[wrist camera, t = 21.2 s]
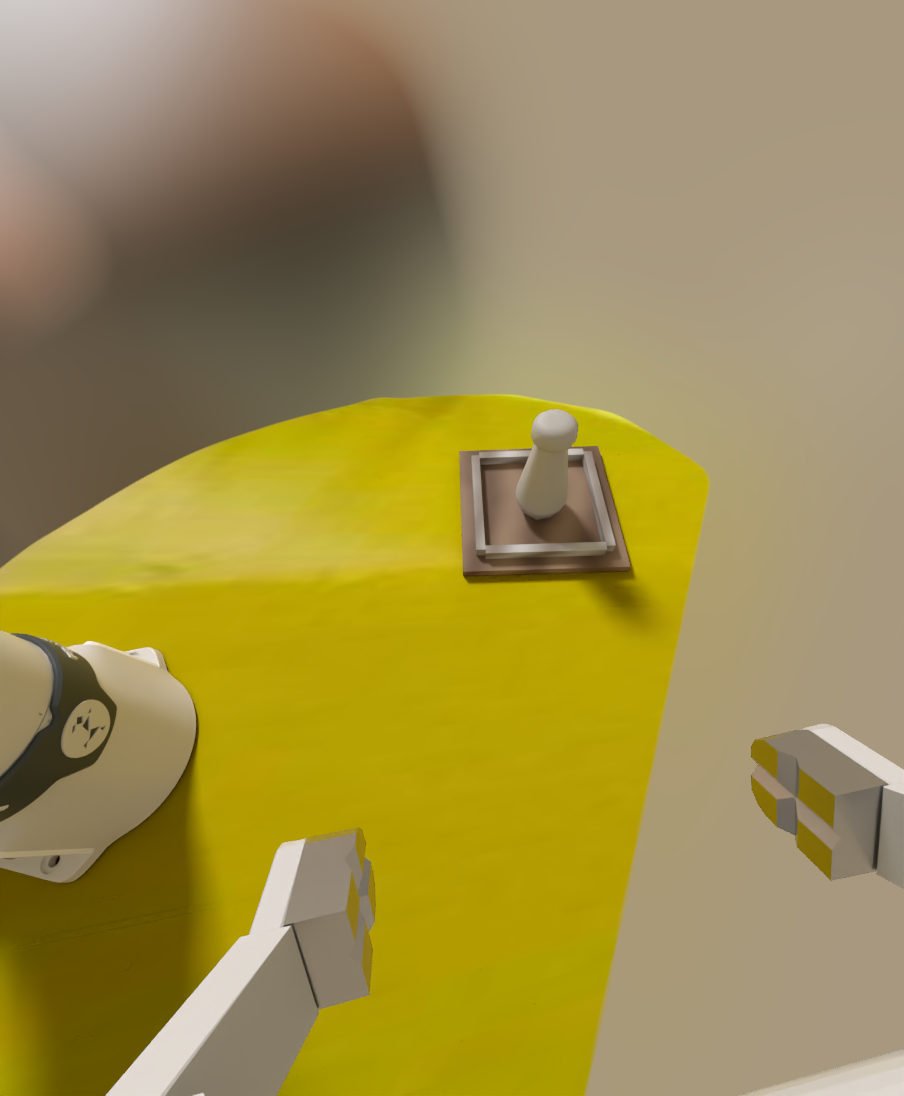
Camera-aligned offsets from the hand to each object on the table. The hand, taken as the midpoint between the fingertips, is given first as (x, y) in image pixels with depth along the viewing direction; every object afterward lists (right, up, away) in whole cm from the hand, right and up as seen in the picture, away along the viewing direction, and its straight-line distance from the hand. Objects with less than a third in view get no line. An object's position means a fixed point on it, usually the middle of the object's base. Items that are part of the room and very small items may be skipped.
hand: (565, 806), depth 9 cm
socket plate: (+8, +10, +43) cm, 45 cm away
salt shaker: (+8, +10, +42) cm, 44 cm away
